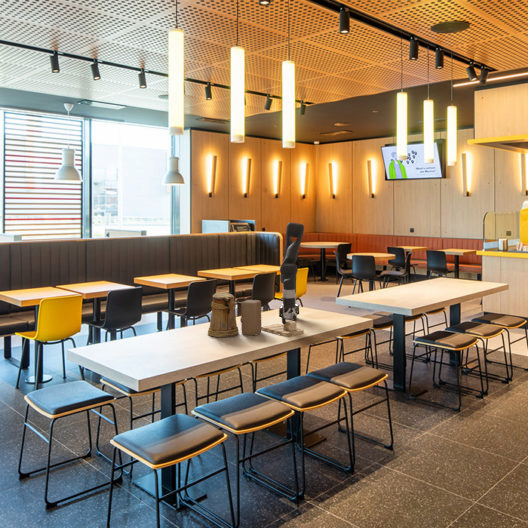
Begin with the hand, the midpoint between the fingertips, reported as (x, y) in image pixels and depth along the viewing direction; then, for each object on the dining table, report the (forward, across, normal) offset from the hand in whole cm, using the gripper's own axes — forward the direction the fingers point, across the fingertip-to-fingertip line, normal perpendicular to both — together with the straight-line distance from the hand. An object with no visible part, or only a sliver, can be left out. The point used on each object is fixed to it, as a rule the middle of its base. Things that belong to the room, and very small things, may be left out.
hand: (289, 322), depth 326 cm
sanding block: (+4, 0, 0) cm, 5 cm away
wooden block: (+7, +17, -16) cm, 24 cm away
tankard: (+7, +31, -24) cm, 40 cm away
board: (+7, 0, -7) cm, 9 cm away
